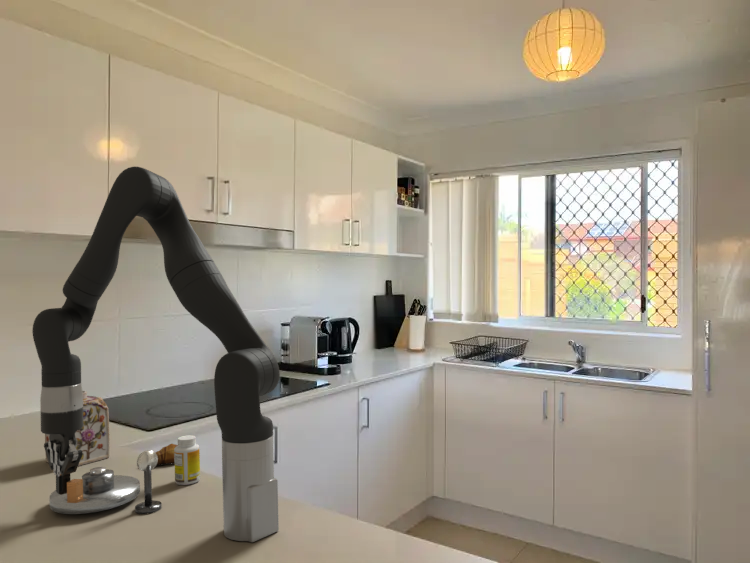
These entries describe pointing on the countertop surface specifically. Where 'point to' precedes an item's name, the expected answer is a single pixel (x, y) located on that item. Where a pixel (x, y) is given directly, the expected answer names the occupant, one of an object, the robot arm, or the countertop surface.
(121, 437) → the countertop surface
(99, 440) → the decorative jar
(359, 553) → the countertop surface
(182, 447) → the supplement bottle
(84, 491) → the cover
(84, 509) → the turntable
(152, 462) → the dial stand
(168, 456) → the croissant
